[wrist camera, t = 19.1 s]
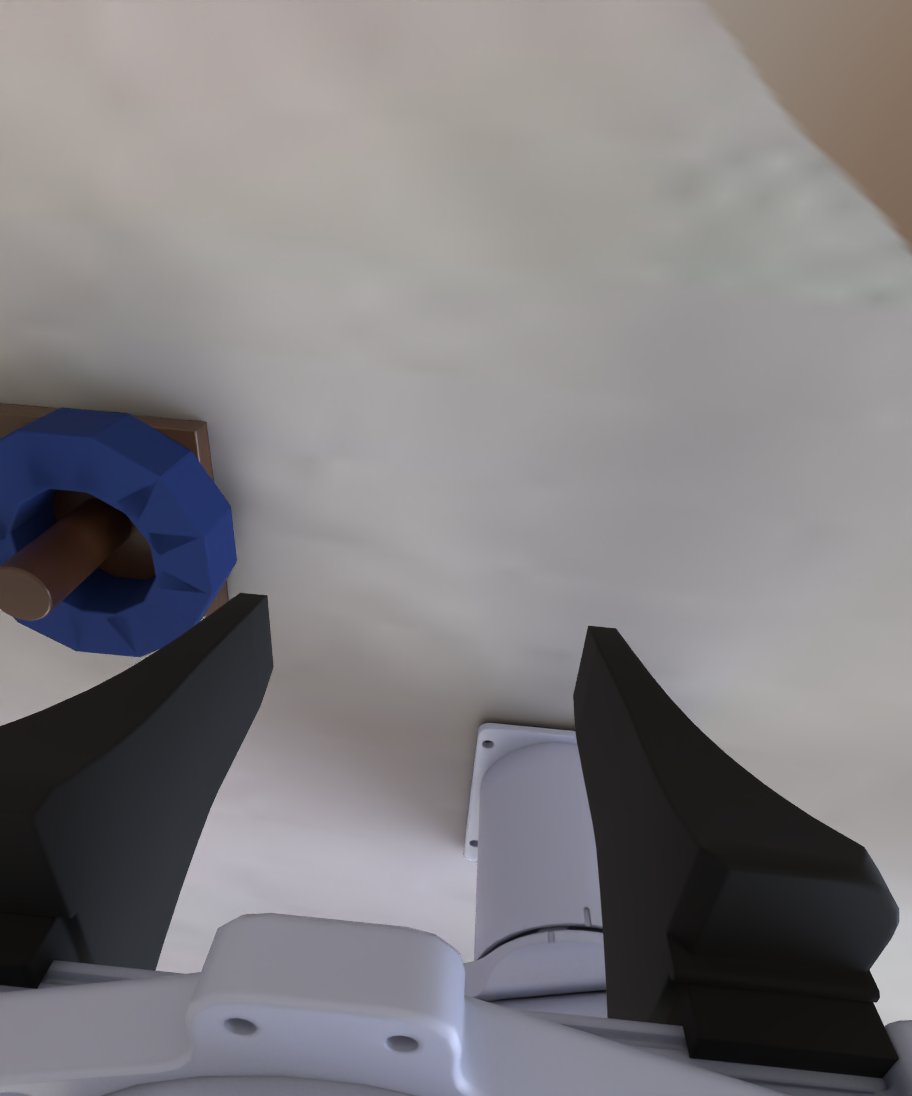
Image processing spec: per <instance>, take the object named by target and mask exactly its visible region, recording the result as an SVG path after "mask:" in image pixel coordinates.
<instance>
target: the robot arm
mask: <svg viewBox="0 0 912 1096" xmlns="http://www.w3.org/2000/svg"><path fill="white" fill-rule="evenodd" d="M272 670H273V656H272V644H271V633H270V621H269V609H268V598H267V595H257V594H246V593H240V594H238V595H237V596H235V597H234V598H232V599H231V600H230V601H228V602H227V603H225V604H224V605H223V606H221V607H220V608H218V609H217V610H216V611H214V612H213V613H212V614H210V615H209V616H208V617H206V618H205V619H203V620H202V621H201V622H199V623H198V624H196V625H195V626H193V627H192V628H191V629H189V630H188V631H186V632H185V633H184V634H182V635H181V636H179V637H178V638H176V639H175V640H173V641H172V642H170V643H169V644H167V645H166V646H164V647H162V648H161V649H159V650H158V651H156V652H155V653H153V654H152V655H150V656H148V657H147V658H145V659H144V660H142V661H141V662H139V663H137V664H136V665H134V666H132V667H131V668H129V669H127V670H125V671H123V672H122V673H120V674H118V675H116V676H114V677H112V678H111V679H109V680H107V681H105V682H103V683H101V684H99V685H97V686H95V687H93V688H91V689H89V690H87V691H85V692H83V693H81V694H78V695H76V696H74V697H72V698H69V699H67V700H65V701H63V702H60V703H58V704H56V705H54V706H51V707H49V708H47V709H44V710H42V711H40V712H37V713H35V714H32V715H29V716H27V717H24V718H22V719H19V720H16V721H14V722H11V723H8V724H5V725H2V726H0V1096H912V1020H905V1021H896V1022H893V1023H889V1024H887V1025H886V1026H885V1027H884V1025H883V1023H882V1021H881V1018H880V1016H879V1014H878V1012H877V1010H876V1007H875V1005H874V1003H873V1002H877V1001H878V1000H879V998H880V993H879V989H878V987H877V985H876V983H875V981H874V979H873V977H872V975H871V972H870V968H871V967H872V965H873V964H874V962H875V961H876V960H877V958H878V957H879V955H880V954H881V953H882V951H883V950H884V948H885V947H886V945H887V944H888V943H889V941H890V940H891V938H892V936H893V934H894V932H895V930H896V928H897V926H898V923H899V908H898V906H897V904H896V902H895V900H894V898H893V897H892V895H891V893H890V891H889V889H888V887H887V885H886V883H885V881H884V879H883V877H882V875H881V873H880V871H879V870H878V868H877V867H876V865H875V863H874V862H873V860H872V859H871V857H870V855H869V854H868V852H867V851H866V849H865V847H863V846H861V845H860V844H858V843H856V842H855V841H853V840H851V839H849V838H848V837H846V836H844V835H842V834H841V833H839V832H837V831H836V830H834V829H832V828H830V827H829V826H827V825H825V824H824V823H822V822H820V821H818V820H817V819H815V818H813V817H812V816H810V815H809V814H807V813H806V812H804V811H803V810H801V809H800V808H798V807H797V806H795V805H794V804H792V803H791V802H789V801H788V800H786V799H785V798H783V797H782V796H780V795H779V794H777V793H776V792H775V791H773V790H772V789H770V788H769V787H768V786H766V785H765V784H763V783H762V782H761V781H760V780H758V779H757V778H756V777H754V776H753V775H752V774H751V773H749V772H748V771H747V770H745V769H744V768H743V767H742V766H740V765H739V764H738V763H737V762H735V761H734V760H733V759H732V758H731V757H729V756H728V755H727V754H726V753H725V752H724V751H722V750H721V749H720V748H719V747H718V746H717V745H716V744H715V743H714V742H713V741H712V740H710V739H709V738H708V737H707V736H706V735H705V734H704V733H703V732H702V731H701V730H700V729H699V728H698V727H697V726H696V725H695V724H694V723H693V722H692V721H691V720H690V719H689V718H688V717H687V716H686V715H685V714H684V713H683V712H682V711H681V709H680V708H679V707H678V706H677V705H676V704H675V703H674V702H673V701H672V700H671V699H670V697H669V696H668V695H667V694H666V693H665V691H664V690H663V689H662V688H661V687H660V685H659V684H658V683H657V682H656V680H655V679H654V678H653V677H652V676H651V674H650V673H649V672H648V670H647V669H646V668H645V667H644V665H643V664H642V663H641V661H640V660H639V659H638V657H637V656H636V655H635V653H634V652H633V651H632V649H631V648H630V647H629V645H628V644H627V642H626V641H625V640H624V638H623V637H622V636H621V635H620V633H619V632H618V631H617V629H616V628H605V627H595V626H588V630H587V634H586V639H585V644H584V648H583V653H582V658H581V662H580V667H579V672H578V677H577V681H576V686H575V691H574V695H573V698H574V717H575V731H569V730H558V729H548V728H538V727H528V726H517V725H507V724H497V723H485V724H482V725H481V726H480V727H479V729H478V736H477V744H476V752H475V760H474V769H473V777H472V785H471V793H470V801H469V810H468V818H467V826H466V834H465V842H464V852H463V855H464V857H465V859H467V860H469V861H472V862H477V890H476V919H475V947H474V961H473V962H468V963H463V962H462V959H461V956H460V953H459V952H458V951H457V950H456V949H455V948H453V947H452V946H451V945H449V944H448V943H447V942H445V941H444V940H442V939H441V938H440V937H438V936H437V935H435V934H432V933H428V932H424V931H420V930H417V929H413V928H409V927H402V926H392V925H382V924H372V923H363V922H353V921H343V920H334V919H324V918H314V917H305V916H295V915H285V914H276V913H264V914H246V915H242V916H240V917H238V918H236V919H234V920H232V921H230V922H229V923H227V924H225V925H223V926H221V927H219V928H218V929H217V932H216V935H215V937H214V940H213V943H212V945H211V948H210V950H209V953H208V956H207V958H206V961H205V964H204V966H203V969H202V971H201V972H199V973H189V974H182V973H172V972H163V971H155V970H156V967H157V963H158V960H159V957H160V953H161V950H162V947H163V943H164V940H165V937H166V934H167V931H168V928H169V925H170V922H171V919H172V916H173V913H174V909H175V906H176V903H177V900H178V897H179V894H180V891H181V888H182V885H183V883H184V880H185V877H186V874H187V871H188V868H189V865H190V863H191V860H192V857H193V854H194V851H195V848H196V846H197V843H198V840H199V838H200V835H201V832H202V830H203V827H204V824H205V822H206V819H207V816H208V814H209V811H210V808H211V806H212V804H213V802H214V799H215V797H216V795H217V793H218V790H219V788H220V786H221V784H222V782H223V780H224V778H225V776H226V774H227V772H228V770H229V768H230V766H231V764H232V762H233V760H234V758H235V756H236V754H237V752H238V750H239V748H240V746H241V744H242V742H243V740H244V738H245V736H246V734H247V732H248V730H249V728H250V726H251V724H252V722H253V720H254V718H255V716H256V714H257V712H258V710H259V708H260V705H261V703H262V700H263V697H264V694H265V691H266V688H267V685H268V682H269V679H270V676H271V673H272ZM486 740H489V741H491V742H485V741H486Z"/></svg>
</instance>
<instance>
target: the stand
mask: <svg viewBox="0 0 912 1096" xmlns="http://www.w3.org/2000/svg"><path fill="white" fill-rule="evenodd" d="M57 409H58V408H47V407H36V406H25V405H14V404H3V403H0V439H1V438H3V437H5V436H6V435H8V434H10V433H12V432H13V431H15V430H17V429H19V428H21V427H23V426H25V425H27V424H29V423H31V422H33V421H35V420H37V419H39V418H41V417H43V416H45V415H47V414H49V413H51V412H53V411H55V410H57ZM132 416H134V417H135V418H137V419H139V420H141V421H142V422H144V423H146V424H147V425H149V426H151V427H152V428H154V429H156V430H157V431H159V432H161V433H162V434H164V435H166V436H167V437H169V438H171V439H172V440H174V441H176V442H178V443H179V444H181V445H183V446H184V447H186V448H188V449H189V450H191V451H192V452H193V453H194V455H195V456H196V458H197V459H198V461H199V462H200V463H201V465H202V466H203V468H204V469H205V470H206V472H207V473H208V475H209V476H210V478H211V479H212V480H213V472H212V464H211V456H210V448H209V440H208V432H207V423H206V422H202V421H191V420H180V419H169V418H158V417H147V416H136V415H132ZM213 482H214V481H213ZM52 506H53V510H54V514H55V517H56V521H57V523H55V524H54V525H53V526H51V527H50V528H49V529H48V530H46V531H45V532H44V533H42V534H41V535H40V536H38V537H37V538H36V539H34V540H33V541H32V542H30V543H29V544H28V545H26V546H25V547H24V548H22V549H21V550H20V551H19V552H17V553H16V554H15V555H13V556H12V557H11V558H9V559H8V560H7V561H5V562H4V563H3V564H1V565H0V609H1V610H2V611H4V612H5V613H7V614H9V615H10V616H13V617H15V618H18V619H22V620H29V621H32V620H38V619H41V618H44V617H45V616H47V615H48V614H49V613H50V612H51V611H52V610H53V609H54V608H55V607H56V606H57V605H58V604H59V603H61V602H62V601H63V600H64V599H65V598H66V597H67V596H68V595H69V594H70V593H71V592H72V591H73V590H74V589H75V588H76V587H77V586H78V585H80V584H81V583H82V582H83V581H84V580H85V579H86V578H87V577H88V576H89V575H90V574H91V573H92V572H93V571H94V570H95V569H96V568H97V567H98V568H100V569H102V570H104V571H105V572H107V573H109V574H111V575H113V576H115V577H124V578H135V579H145V580H146V579H148V578H150V577H152V576H155V569H154V564H153V558H152V553H151V548H150V544H149V543H148V542H147V540H146V539H145V538H144V537H143V535H142V534H141V533H140V531H139V530H138V529H137V528H136V526H135V525H134V524H133V523H132V521H131V520H130V519H129V518H128V516H127V515H126V514H125V513H123V512H122V511H120V510H118V509H116V508H114V507H113V506H111V505H109V504H107V503H105V502H104V501H102V500H100V499H98V498H96V497H95V496H93V495H91V494H89V493H87V492H77V491H66V490H56V492H55V495H54V497H53V500H52ZM227 602H228V595H227V587H226V581H225V583H224V584H223V586H222V588H221V589H220V591H219V593H218V595H217V596H216V598H215V600H214V601H213V603H212V604H211V606H210V607H209V609H208V610H207V611H206V613H205V614H204V616H209V615H210V614H212V613H213V612H214V611H216V610H217V609H218V608H220V607H221V606H223V605H224V604H225V603H227Z"/></svg>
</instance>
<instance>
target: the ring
mask: <svg viewBox="0 0 912 1096" xmlns="http://www.w3.org/2000/svg"><path fill="white" fill-rule="evenodd" d="M56 490H66V491H77V492H87V493H89V494H91V495H93V496H95V497H96V498H98V499H100V500H102V501H104V502H105V503H107V504H109V505H111V506H113V507H114V508H116V509H118V510H120V511H122V512H123V513H125V514H126V515H127V516H128V518H129V519H130V520H131V521H132V523H133V524H134V525H135V526H136V528H137V529H138V530H139V531H140V533H141V534H142V535H143V537H144V538H145V539H146V540H147V542H148V543H149V544H150V548H151V553H152V558H153V564H154V569H155V576H152V577H150V578H148V579H146V580H145V579H135V578H124V577H115V576H113V575H111V574H109V573H107V572H105V571H104V570H102V569H100V568H98V567H97V568H96V569H95V570H94V571H93V572H92V573H91V574H90V575H89V576H88V577H87V578H86V579H85V580H84V581H83V582H82V583H81V584H80V585H78V586H77V587H76V588H75V589H74V590H73V591H72V592H71V593H70V594H69V595H68V596H67V597H66V598H65V599H64V600H63V601H62V602H61V603H59V604H58V605H57V606H56V607H55V608H54V609H53V610H52V611H51V612H50V613H49V614H48V615H47V616H45V617H44V618H41V619H38V620H32V621H29V620H22V619H18V618H15V617H13V616H12V617H13V618H14V619H15V620H17V622H19V623H21V624H23V625H25V626H27V627H29V628H31V629H33V630H35V631H37V632H39V633H41V634H43V635H45V636H47V637H49V638H51V639H53V640H55V641H57V642H59V643H61V644H63V645H65V646H67V647H69V648H71V649H73V650H75V651H80V652H91V653H101V654H112V655H122V656H133V657H141V656H144V655H146V654H149V653H151V652H154V651H156V650H159V649H161V648H162V647H164V646H166V645H167V644H169V643H170V642H172V641H173V640H175V639H176V638H178V637H179V636H181V635H182V634H184V633H185V632H186V631H188V630H189V629H191V628H192V627H193V626H195V625H196V624H198V623H199V622H200V620H201V619H202V617H203V616H204V614H205V613H206V611H207V610H208V609H209V607H210V606H211V604H212V603H213V601H214V600H215V598H216V596H217V595H218V593H219V591H220V589H221V588H222V586H223V584H224V583H225V581H226V579H227V578H228V576H229V574H230V573H231V571H232V569H233V567H234V566H235V564H236V561H237V558H236V549H235V540H234V531H233V522H232V513H231V506H230V504H229V503H228V502H227V500H226V499H225V497H224V496H223V495H222V493H221V492H220V490H219V489H218V487H217V486H216V485H215V483H214V482H213V480H212V479H211V478H210V476H209V475H208V473H207V472H206V470H205V469H204V468H203V466H202V465H201V463H200V462H199V461H198V459H197V458H196V456H195V455H194V453H193V452H192V451H191V450H189V449H188V448H186V447H184V446H183V445H181V444H179V443H178V442H176V441H174V440H172V439H171V438H169V437H167V436H166V435H164V434H162V433H161V432H159V431H157V430H156V429H154V428H152V427H151V426H149V425H147V424H146V423H144V422H142V421H141V420H139V419H137V418H135V417H134V416H132V415H130V414H127V413H116V412H104V411H93V410H82V409H71V408H60V409H57V410H55V411H53V412H51V413H49V414H47V415H45V416H43V417H41V418H39V419H37V420H35V421H33V422H31V423H29V424H27V425H25V426H23V427H21V428H19V429H17V430H15V431H13V432H12V433H10V434H8V435H6V436H5V437H3V438H1V439H0V565H1V564H3V563H4V562H5V561H7V560H8V559H9V558H11V557H12V556H13V555H15V554H16V553H17V552H19V551H20V550H21V549H22V548H24V547H25V546H26V545H28V544H29V543H30V542H32V541H33V540H34V539H36V538H37V537H38V536H40V535H41V534H42V533H44V532H45V531H46V530H48V529H49V528H50V527H51V526H53V525H54V524H55V523H57V521H56V517H55V514H54V510H53V506H52V500H53V497H54V495H55V492H56Z"/></svg>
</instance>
